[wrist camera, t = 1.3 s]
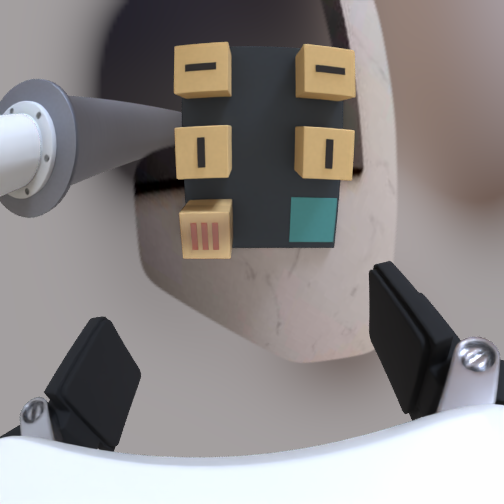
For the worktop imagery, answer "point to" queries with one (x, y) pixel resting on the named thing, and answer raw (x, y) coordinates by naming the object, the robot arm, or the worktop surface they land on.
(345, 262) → the worktop surface
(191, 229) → the striped wooden cube
